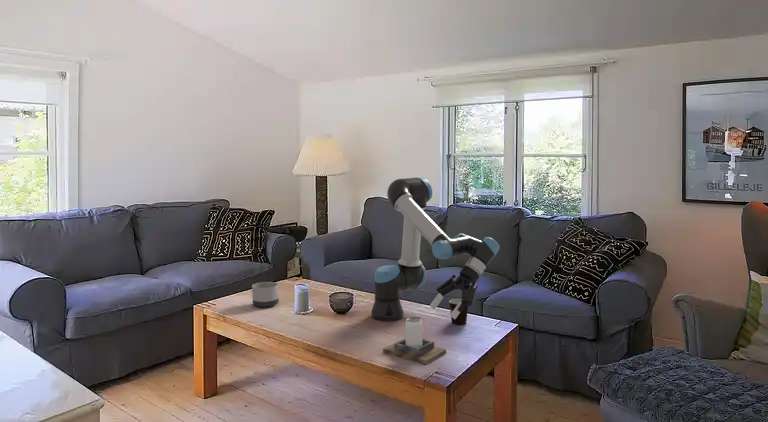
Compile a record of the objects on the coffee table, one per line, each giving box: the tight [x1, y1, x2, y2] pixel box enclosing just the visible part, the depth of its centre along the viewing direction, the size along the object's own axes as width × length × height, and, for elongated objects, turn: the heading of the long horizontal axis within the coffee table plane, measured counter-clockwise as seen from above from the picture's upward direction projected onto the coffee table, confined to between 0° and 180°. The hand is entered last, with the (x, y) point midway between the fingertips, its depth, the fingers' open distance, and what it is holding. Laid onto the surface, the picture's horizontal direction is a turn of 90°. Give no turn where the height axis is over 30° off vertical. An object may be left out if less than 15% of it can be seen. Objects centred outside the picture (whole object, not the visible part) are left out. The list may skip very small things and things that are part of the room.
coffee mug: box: [448, 298, 469, 326], centre depth 249 cm, size 12×9×10 cm
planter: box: [251, 281, 280, 308], centre depth 278 cm, size 13×13×10 cm
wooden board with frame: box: [382, 337, 447, 365], centre depth 213 cm, size 20×14×4 cm
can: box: [405, 316, 423, 349], centre depth 212 cm, size 6×6×12 cm
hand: (441, 312), depth 219 cm, fingers open, 13 cm apart
